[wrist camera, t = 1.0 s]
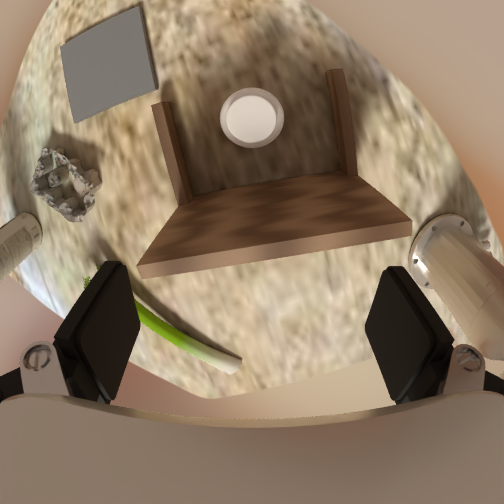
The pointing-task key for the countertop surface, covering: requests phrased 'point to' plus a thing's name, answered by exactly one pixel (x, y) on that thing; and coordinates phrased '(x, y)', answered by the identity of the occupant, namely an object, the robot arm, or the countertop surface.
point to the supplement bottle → (252, 117)
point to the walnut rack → (270, 208)
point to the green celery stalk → (185, 340)
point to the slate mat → (108, 65)
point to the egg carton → (58, 177)
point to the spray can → (18, 241)
